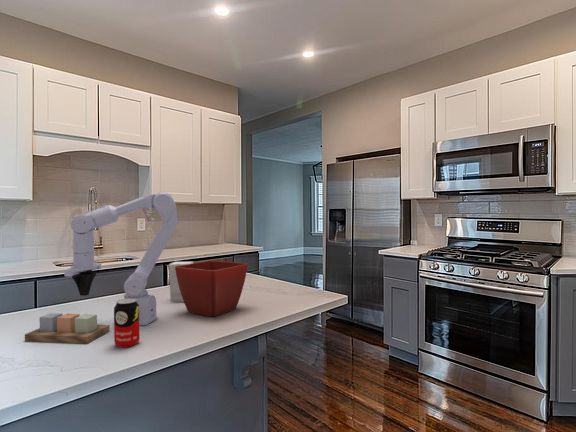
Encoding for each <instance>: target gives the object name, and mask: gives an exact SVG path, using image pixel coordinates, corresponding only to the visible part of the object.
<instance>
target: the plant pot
mask: <svg viewBox="0 0 576 432" xmlns="http://www.w3.org/2000/svg"><path fill="white" fill-rule="evenodd" d="M175 270H176V276H177V280H178V285H179V288H180V292H181V295H182V298H183V301H184V302H183V303H184V305H185V307H186V311H187V312H188V313H191V314H197V315H202V316H206V317H207V316H208V317H216V316H219V315H220V316H221V315H222V314H224V313H228V312H232V311H234V310H236V309H237V307H238V304H239V301H240V299H241V295H242V292H243V289H244V286H245V282H246V281H245V280H246V276H247V271H248V263H245V262H234V261H220V260H207V261H205V260H204V261H200V262H193V264H187V265H181V266H176V267H175Z"/></svg>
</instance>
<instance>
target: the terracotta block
mask: <svg viewBox="0 0 576 432" xmlns="http://www.w3.org/2000/svg"><path fill="white" fill-rule="evenodd" d="M79 316H81V314H80V313H64V314H63V316H60V317H58V318H57V332H69V333H71V332H73V331H75V318H77V317H79Z"/></svg>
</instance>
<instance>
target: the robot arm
mask: <svg viewBox="0 0 576 432" xmlns="http://www.w3.org/2000/svg"><path fill="white" fill-rule="evenodd" d="M141 209H155V210H156V211H157V212H158V214H159V216H160V218H161V222H162V223H161V225H160V227H159V229H158V231H157V233H156V234H155V236H154V238H153V239H152V241H151V243H150V244H149V246H148V248H147V250H146V252H145V253H144V256H143V257H142V259H141V260H140V262H139V264H138V266H137V267H136V269H135V270H134V272H133V273H131V274H130V275H129V276H128V278H127V279H126V280H125V281H124V283H123V291H124V292H125V293H124V295H123V297H124V298H123V299H128V298H133V299H137V303H138V305H139V326H147V325H149V324H150V323H152V322H153V321H155V320H157V319H158V316H157V298H156V296H155V295H154V294H149V291H148V290H147V289H146V286H147V284H148V278H149V276H150V275H151V273H152V271H153V268H154V267H155V265H156V264H157V262H158V260H159V259H160V256H161V255H162V253H163V251H164V249H165V247H166V246H167V244H168V242H169V241H170V239H171V237H172V235H173V233H174V231H175V230H176V228H177V227H178V224H179V221H178V211H177V204H176V203H175V199H174V198H173V196H172V195H171V194H170V193H168V192H166V191H165V192H164V191H161V192H158V193H156V194H155V193H153V194H152V193H151V194H149V195H148V194H147V195H144V196H141V197H138V198H136V199H133V200H131V201H128V202H126V203H124V204H121V205H118V206H114V205H110V204H108V205H107V204H103V205H101V206H100V207H99V208H97V209H94V210H92V211H90V210H86V211H85V214H82V213H81V214H80V213H79V214H77V215H76V216H74V217H73V218H72V219H71V222H70V228H71V229H72V231H73V232H72V235H73V237H72V238H73V239H72V250H73V251H72V253H73V254H72V257H73V259H72V261H73V265H72V266H70V268H67V269H64V277H71V278H72V279H73V281H74V283H75V284H76V287H77V290H78V293H79V296H81V297H82V296H83V297H86V296H88V295H89V294H90V291H91V287H92V283H93V282H94V279H95V277H96V275H97V271H95V270H101V269H102V262H95V237H94V230H95V229H100V228H103V227H106V226H108V225H111V224H115V223H116V222H118V220H119V218H120V216H123V215H127V214H130V213H133V212H135V211H139V210H141Z"/></svg>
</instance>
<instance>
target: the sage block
mask: <svg viewBox="0 0 576 432" xmlns="http://www.w3.org/2000/svg"><path fill="white" fill-rule="evenodd" d="M97 325H98V314H91V313H90V314H88V313H85V314H82V315H81V314H80V316H79V317H77V318H75V333H90V332H92V331H94V330H96V329H97Z"/></svg>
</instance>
